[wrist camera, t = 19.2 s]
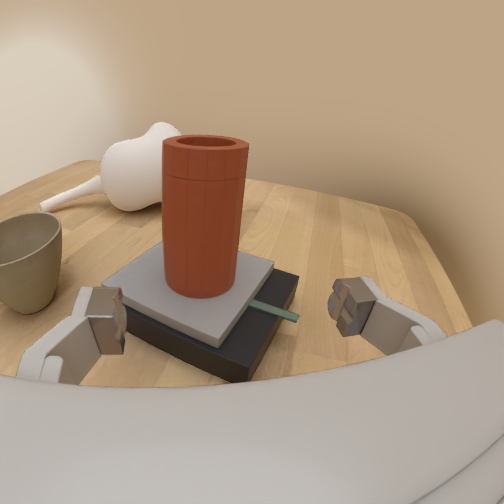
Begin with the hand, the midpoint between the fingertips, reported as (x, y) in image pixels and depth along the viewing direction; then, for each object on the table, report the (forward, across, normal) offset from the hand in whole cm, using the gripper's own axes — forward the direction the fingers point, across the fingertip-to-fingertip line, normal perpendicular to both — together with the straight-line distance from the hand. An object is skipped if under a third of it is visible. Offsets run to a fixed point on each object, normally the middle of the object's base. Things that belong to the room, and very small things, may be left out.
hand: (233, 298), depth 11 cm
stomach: (+38, +11, +11) cm, 41 cm away
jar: (+12, 0, +7) cm, 14 cm away
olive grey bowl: (+13, +18, +11) cm, 25 cm away
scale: (+12, 0, +11) cm, 16 cm away
